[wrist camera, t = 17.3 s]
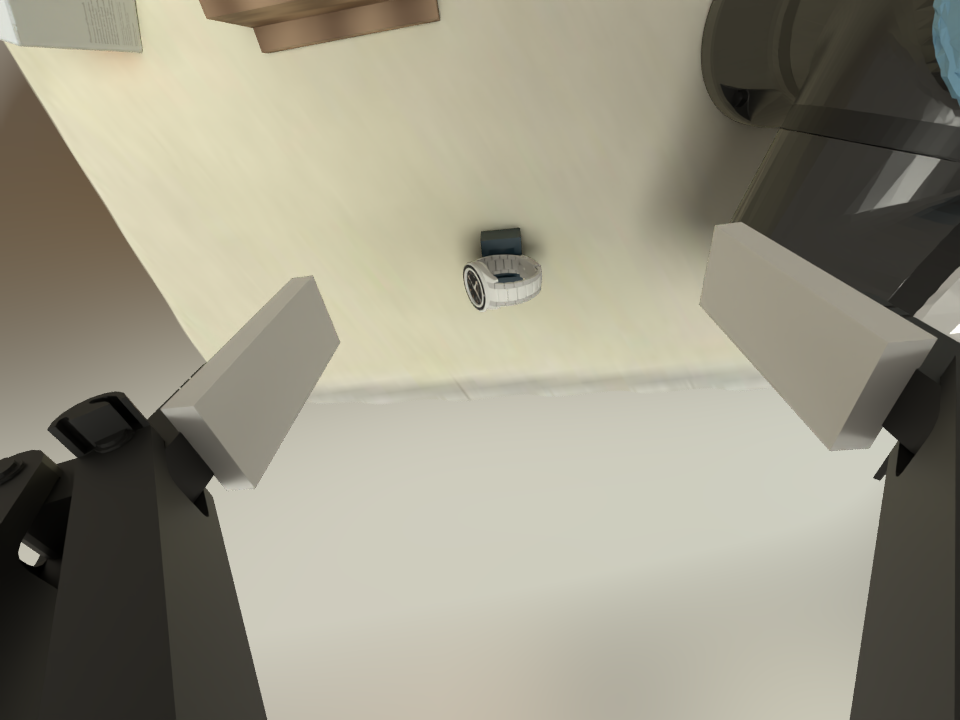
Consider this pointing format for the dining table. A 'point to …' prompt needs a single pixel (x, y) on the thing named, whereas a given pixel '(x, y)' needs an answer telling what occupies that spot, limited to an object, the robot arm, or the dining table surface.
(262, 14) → the stepped wooden ledge
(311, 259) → the dining table surface
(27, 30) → the skincare box
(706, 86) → the robot arm
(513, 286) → the watch
